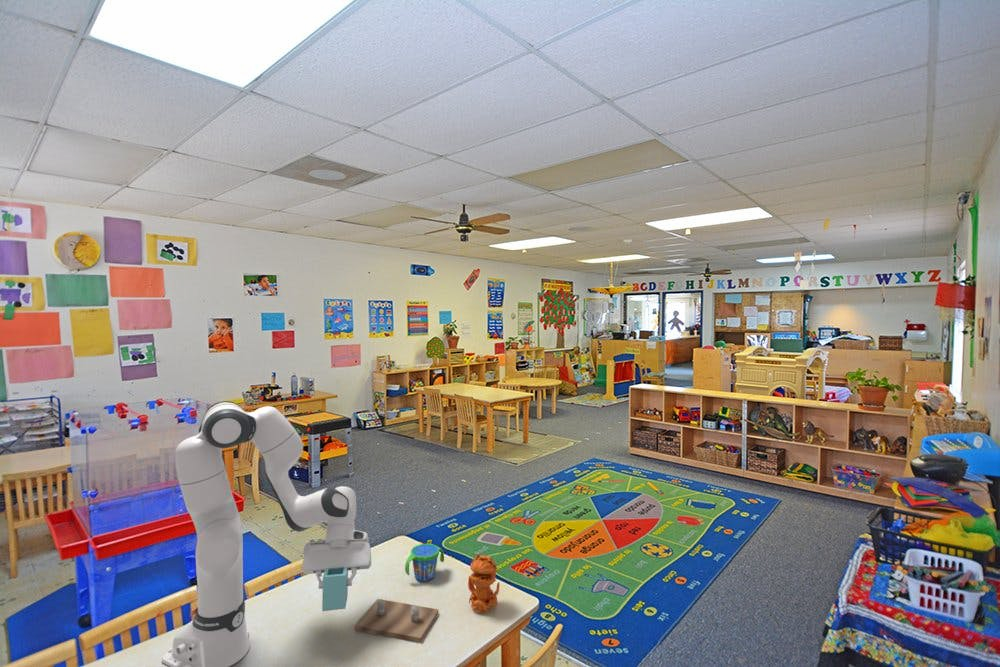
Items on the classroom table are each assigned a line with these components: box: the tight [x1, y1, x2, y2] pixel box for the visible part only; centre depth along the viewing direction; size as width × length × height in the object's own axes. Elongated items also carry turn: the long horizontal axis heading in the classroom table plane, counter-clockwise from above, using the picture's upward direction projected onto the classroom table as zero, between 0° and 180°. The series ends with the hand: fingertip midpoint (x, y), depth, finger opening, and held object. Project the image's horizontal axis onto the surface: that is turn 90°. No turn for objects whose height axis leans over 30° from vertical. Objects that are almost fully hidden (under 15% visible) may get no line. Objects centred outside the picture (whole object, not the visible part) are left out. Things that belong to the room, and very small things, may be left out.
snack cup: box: [404, 543, 445, 582], centre depth 172 cm, size 16×11×10 cm
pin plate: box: [354, 598, 439, 644], centre depth 147 cm, size 22×14×6 cm, turn 76°
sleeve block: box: [321, 567, 349, 612], centre depth 138 cm, size 6×6×10 cm
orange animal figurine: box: [467, 554, 500, 613], centre depth 154 cm, size 11×11×18 cm
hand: (335, 586), depth 137 cm, fingers closed on sleeve block, 6 cm apart
